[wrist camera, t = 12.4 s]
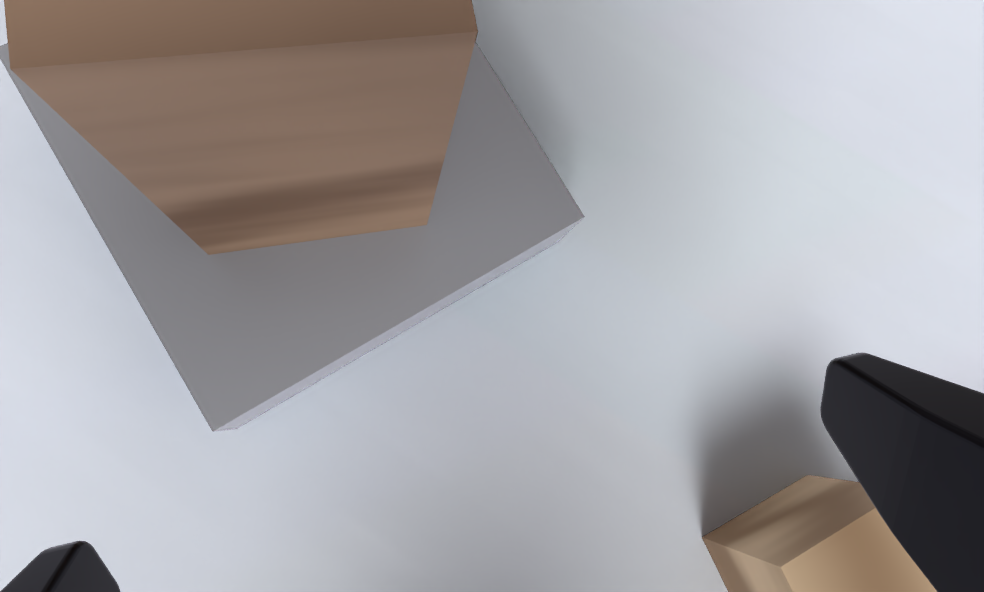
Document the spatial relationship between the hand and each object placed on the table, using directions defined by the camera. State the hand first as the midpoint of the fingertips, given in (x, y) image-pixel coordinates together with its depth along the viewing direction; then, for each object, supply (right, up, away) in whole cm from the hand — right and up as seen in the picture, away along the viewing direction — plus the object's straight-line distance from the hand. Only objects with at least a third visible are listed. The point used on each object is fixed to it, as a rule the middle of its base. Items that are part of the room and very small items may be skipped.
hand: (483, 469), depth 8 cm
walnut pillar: (-5, +7, +11) cm, 14 cm away
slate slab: (-6, +6, +14) cm, 16 cm away
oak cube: (+10, -7, +14) cm, 19 cm away
